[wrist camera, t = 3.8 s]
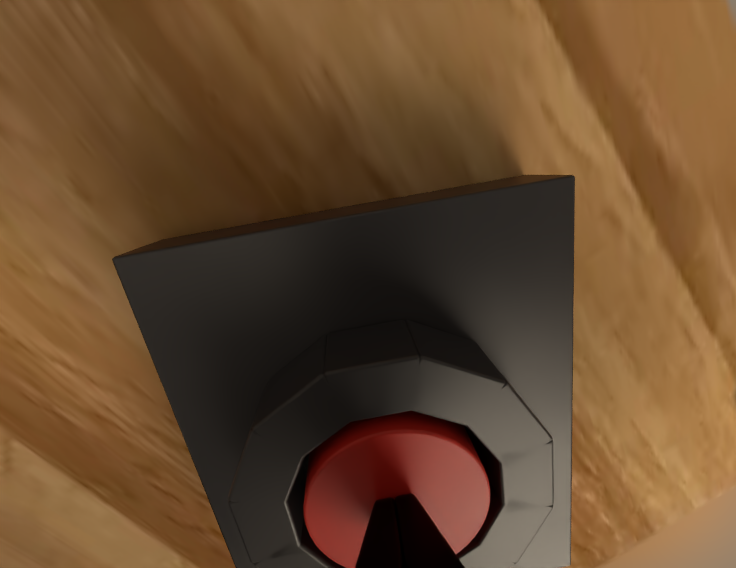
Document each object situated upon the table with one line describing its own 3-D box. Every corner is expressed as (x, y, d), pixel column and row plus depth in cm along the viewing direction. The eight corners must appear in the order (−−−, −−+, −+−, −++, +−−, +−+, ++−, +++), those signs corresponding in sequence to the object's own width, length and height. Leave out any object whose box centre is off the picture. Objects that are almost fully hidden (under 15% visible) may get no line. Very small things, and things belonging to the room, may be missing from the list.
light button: (470, 492, 10) (497, 558, 8) (327, 520, 10) (324, 592, 8) (457, 367, 9) (485, 413, 7) (294, 397, 8) (282, 451, 7)
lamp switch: (535, 504, 13) (612, 637, 9) (272, 555, 13) (243, 711, 9) (525, 174, 10) (645, 174, 6) (161, 239, 9) (39, 283, 6)
